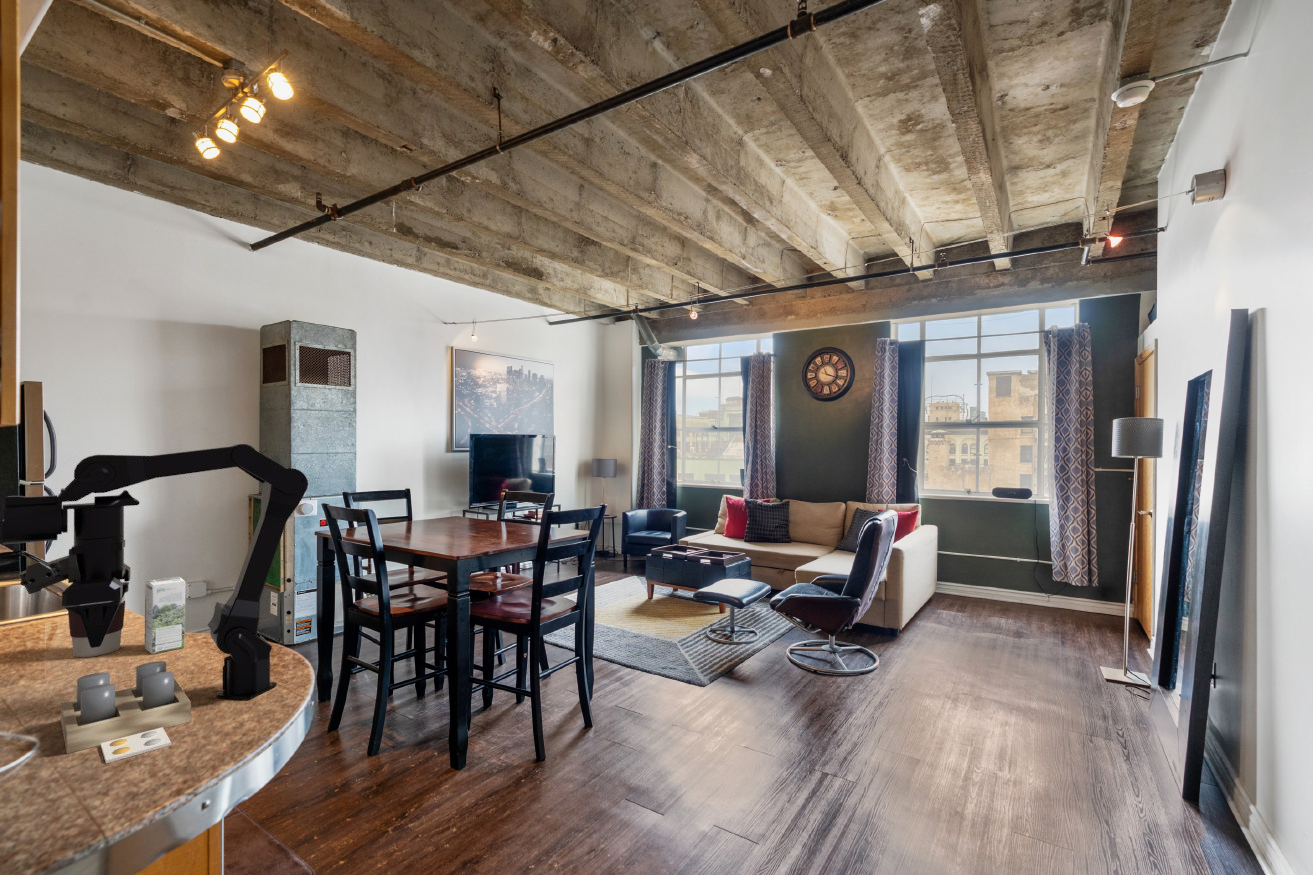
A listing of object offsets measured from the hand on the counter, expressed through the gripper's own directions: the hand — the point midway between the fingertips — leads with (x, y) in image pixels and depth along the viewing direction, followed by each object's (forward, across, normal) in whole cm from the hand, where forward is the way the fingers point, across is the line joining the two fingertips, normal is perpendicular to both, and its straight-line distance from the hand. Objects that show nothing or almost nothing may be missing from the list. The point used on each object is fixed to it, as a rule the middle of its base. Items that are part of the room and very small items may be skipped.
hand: (99, 639), depth 96 cm
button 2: (+10, +5, 0) cm, 11 cm away
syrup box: (+14, -40, +7) cm, 43 cm away
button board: (+13, +1, +3) cm, 14 cm away
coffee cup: (+13, -46, -5) cm, 48 cm away
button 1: (+10, -2, -1) cm, 11 cm away
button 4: (+10, +3, +7) cm, 13 cm away
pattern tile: (+13, +11, +5) cm, 18 cm away
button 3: (+10, -4, +6) cm, 12 cm away
